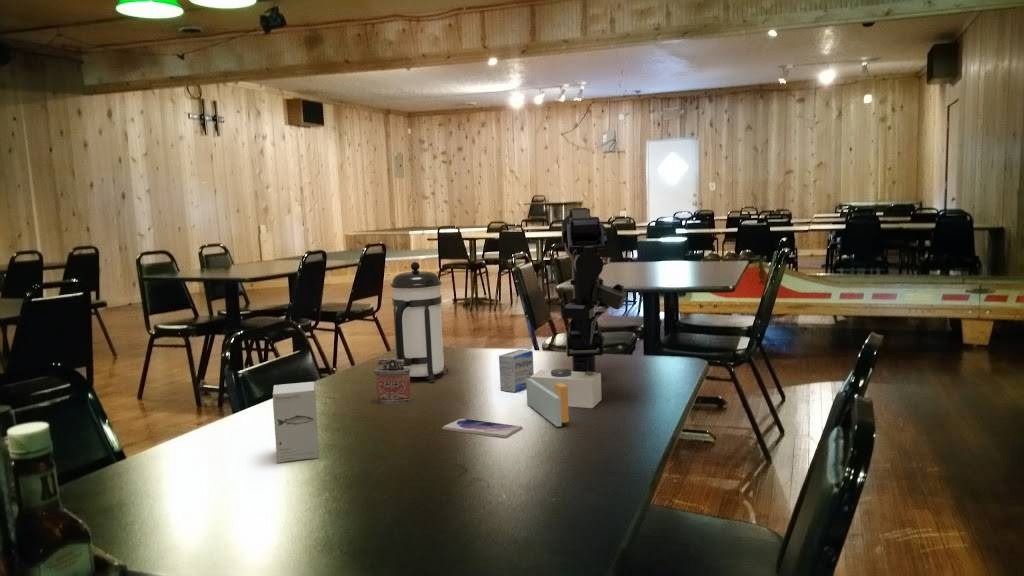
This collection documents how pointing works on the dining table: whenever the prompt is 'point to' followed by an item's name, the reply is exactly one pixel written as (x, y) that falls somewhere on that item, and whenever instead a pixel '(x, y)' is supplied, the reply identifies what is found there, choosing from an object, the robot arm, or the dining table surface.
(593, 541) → the dining table surface
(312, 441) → the supplement box
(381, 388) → the lighter
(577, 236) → the robot arm
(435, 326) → the coffee press
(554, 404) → the side door
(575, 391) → the camera housing
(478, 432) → the smartphone
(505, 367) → the medicine box
